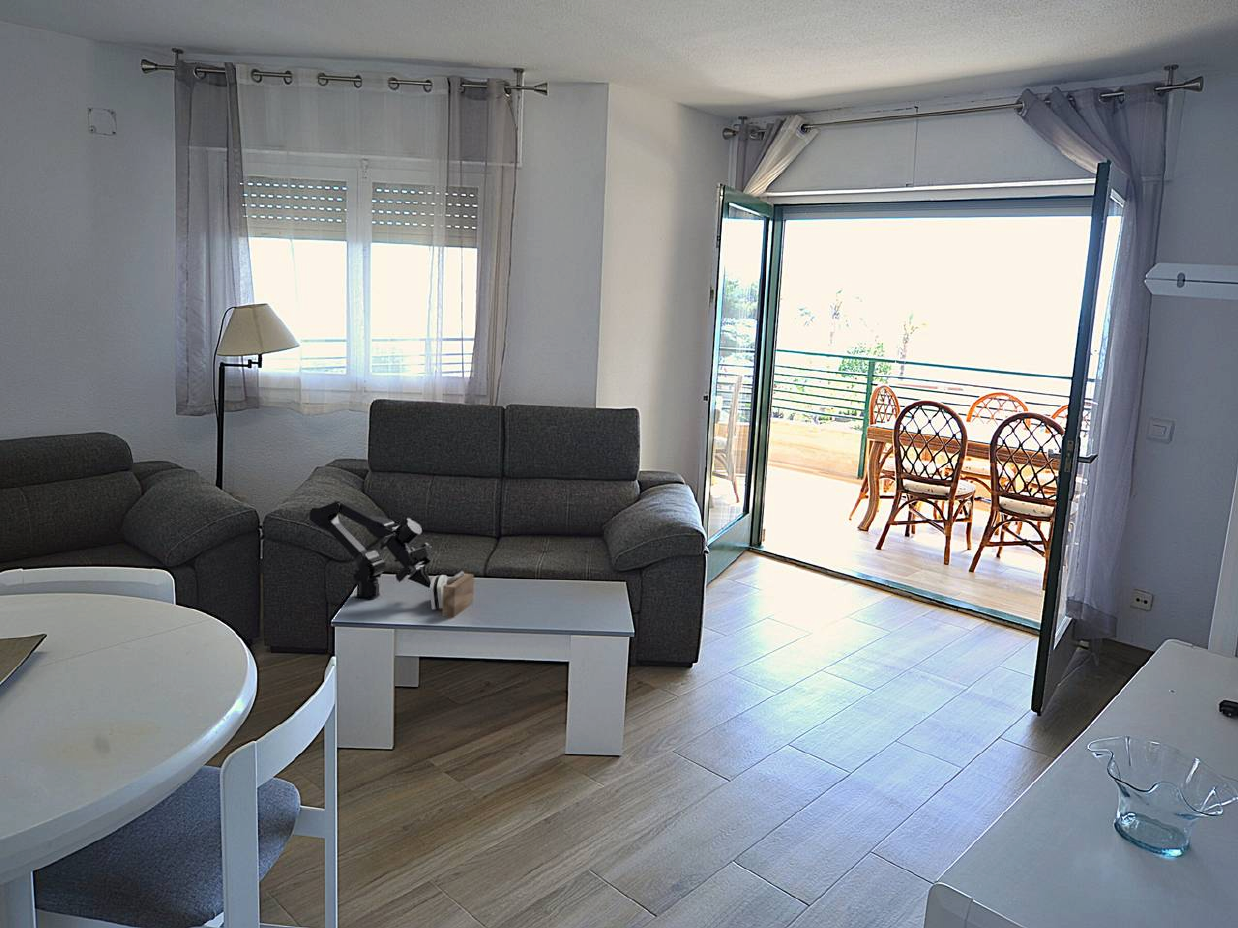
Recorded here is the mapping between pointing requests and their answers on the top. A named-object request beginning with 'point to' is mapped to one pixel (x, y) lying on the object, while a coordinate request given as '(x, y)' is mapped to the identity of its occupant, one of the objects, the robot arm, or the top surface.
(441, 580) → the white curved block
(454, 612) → the tan flat boxy piece
